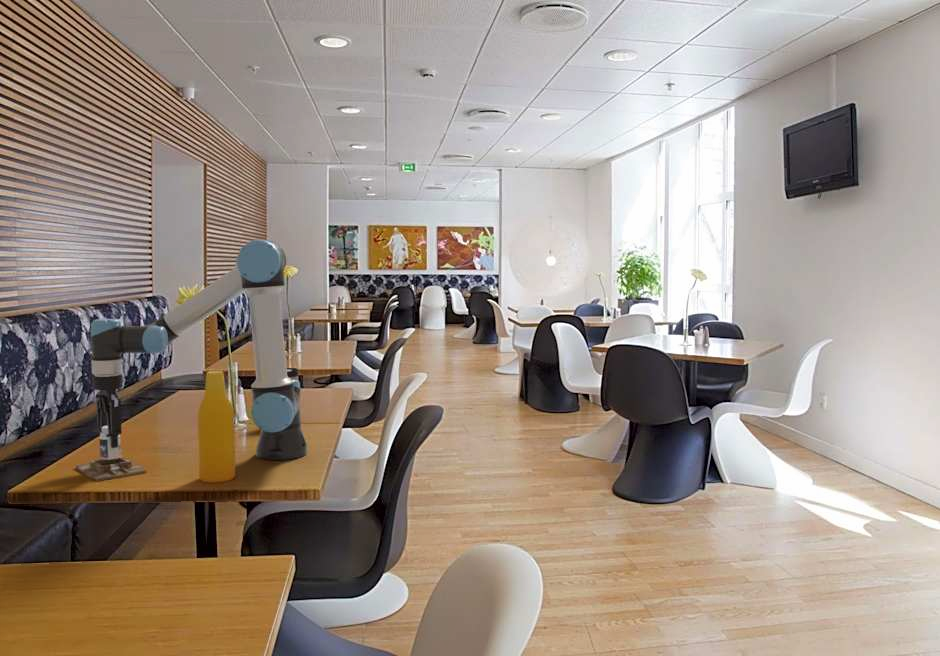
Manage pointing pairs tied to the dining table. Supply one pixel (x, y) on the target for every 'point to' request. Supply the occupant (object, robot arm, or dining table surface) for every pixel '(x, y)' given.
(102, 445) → the pill bottle
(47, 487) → the dining table surface
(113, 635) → the dining table surface
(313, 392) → the dining table surface
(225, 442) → the beer bottle
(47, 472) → the dining table surface
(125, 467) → the organizer
